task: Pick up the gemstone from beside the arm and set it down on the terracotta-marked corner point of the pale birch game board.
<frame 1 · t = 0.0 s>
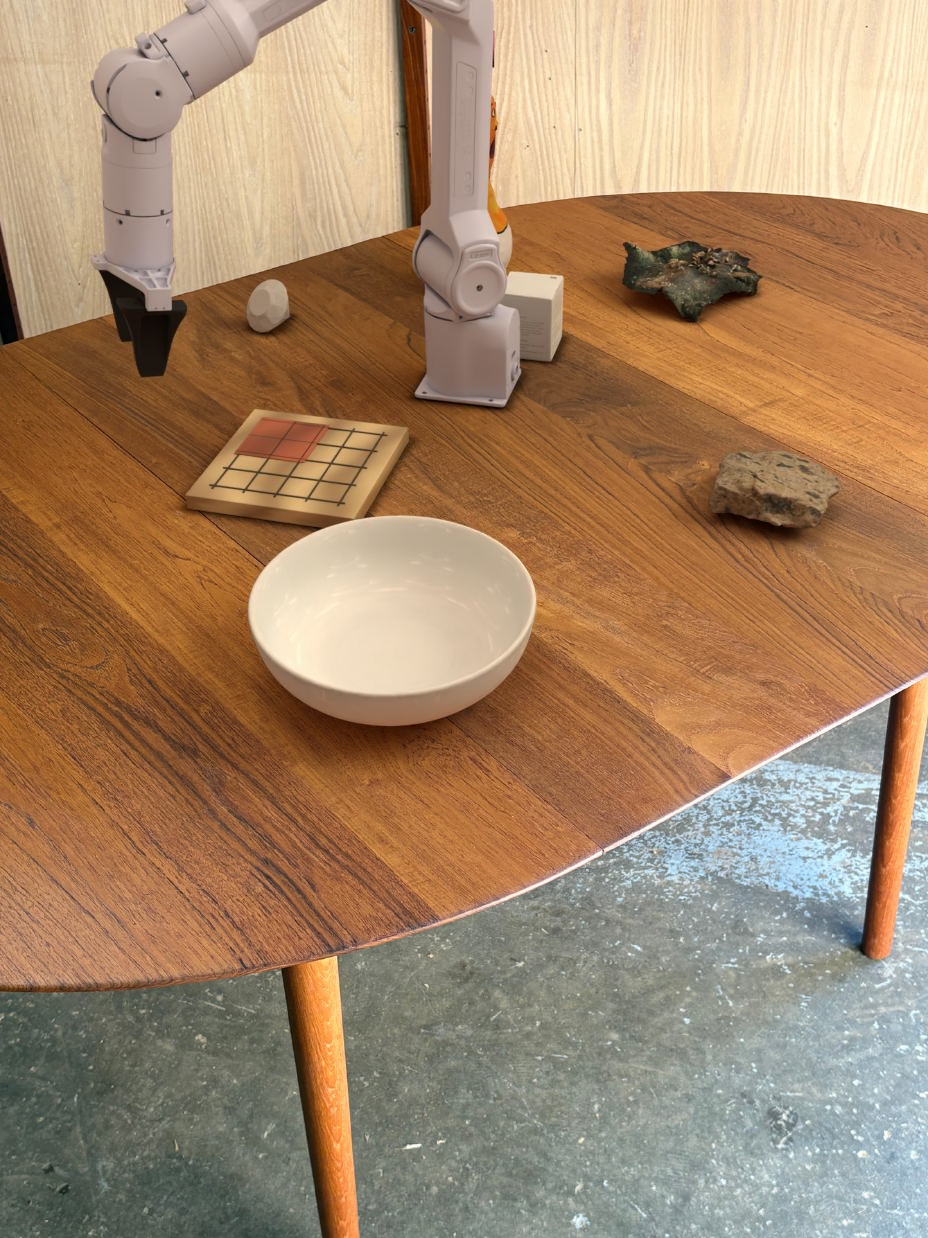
hand: (141, 357, 110), 11 cm above the table, tool pointing down, fingers open, 7 cm apart
decorative rock: (690, 286, 145), on the table
serving bowl: (397, 668, 93), on the table
rock: (774, 506, 109), on the table
board: (302, 473, 114), on the table
product box: (530, 348, 133), on the table
gemstone: (271, 325, 139), on the table
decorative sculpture: (478, 281, 147), on the table
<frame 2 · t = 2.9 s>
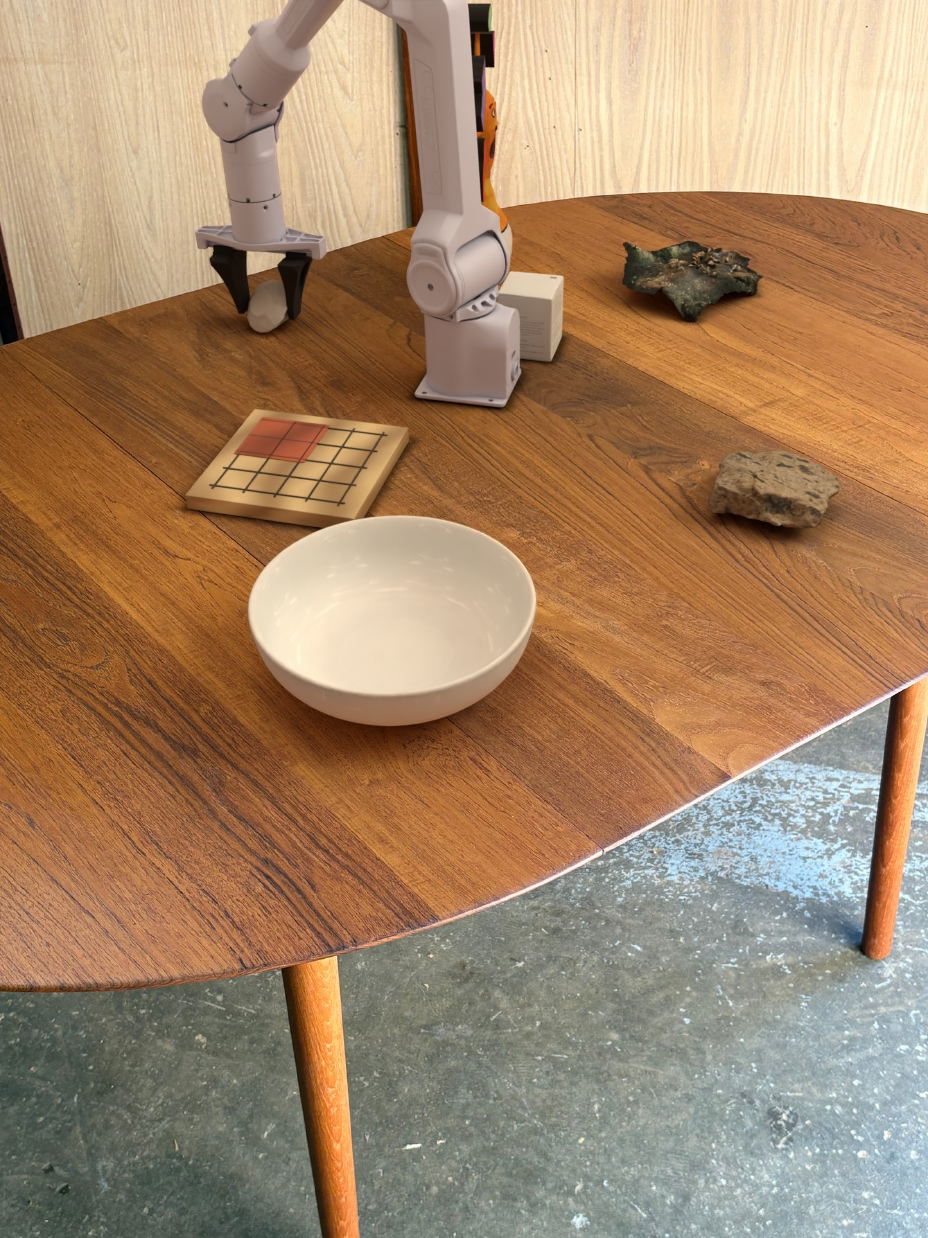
hand: (269, 312, 138), 1 cm above the table, tool pointing down, fingers closed on gemstone, 5 cm apart
gemstone: (272, 326, 139), on the table, touching gripper
everything else where it was.
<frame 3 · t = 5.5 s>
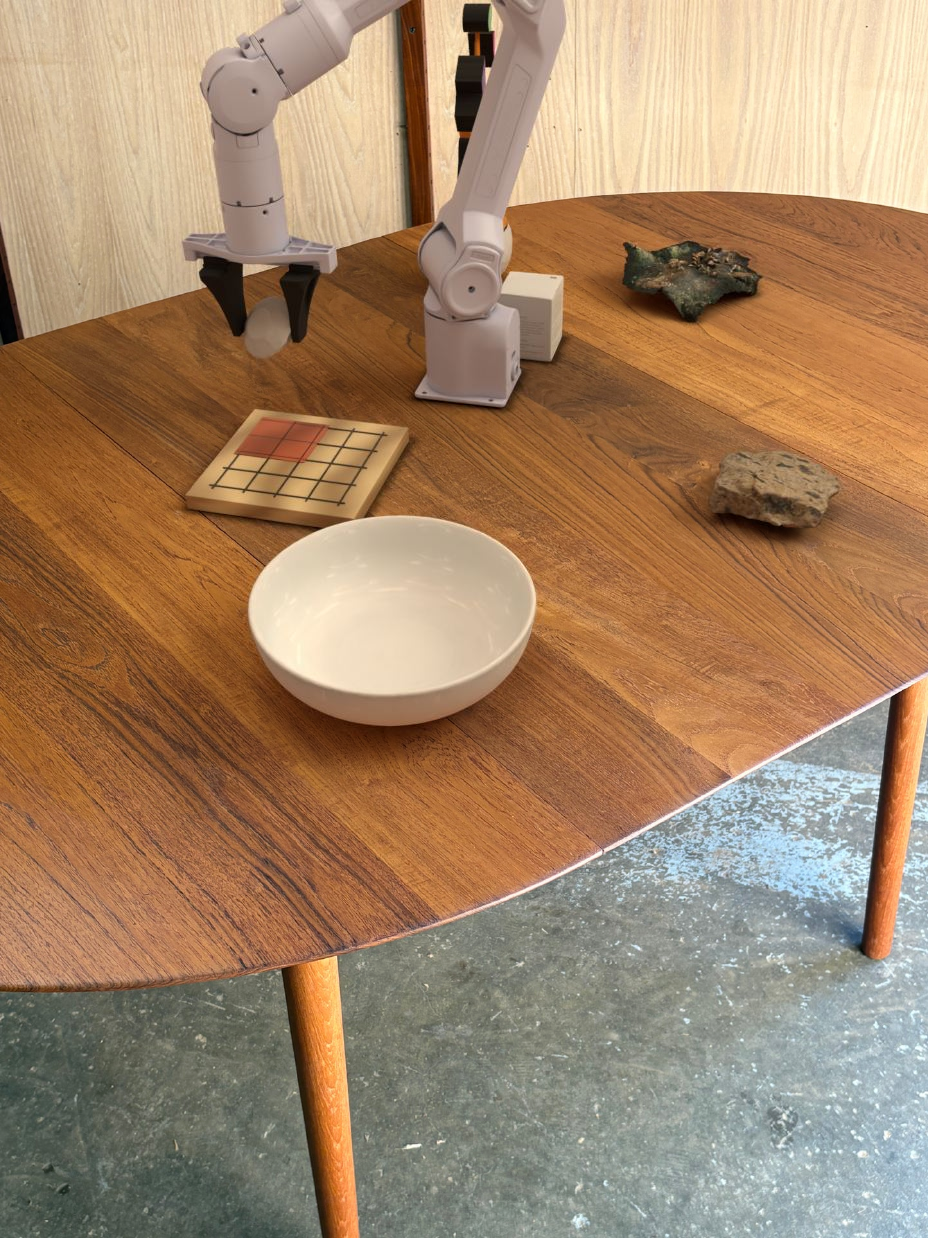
hand: (270, 335, 118), 8 cm above the table, tool pointing down, fingers closed on gemstone, 5 cm apart
gemstone: (272, 350, 119), point 7 cm above the table, touching gripper
everything else where it was.
when the fingers open (3 cm above the table, at t = 8.0 s): gemstone stays where it is, resting on board.
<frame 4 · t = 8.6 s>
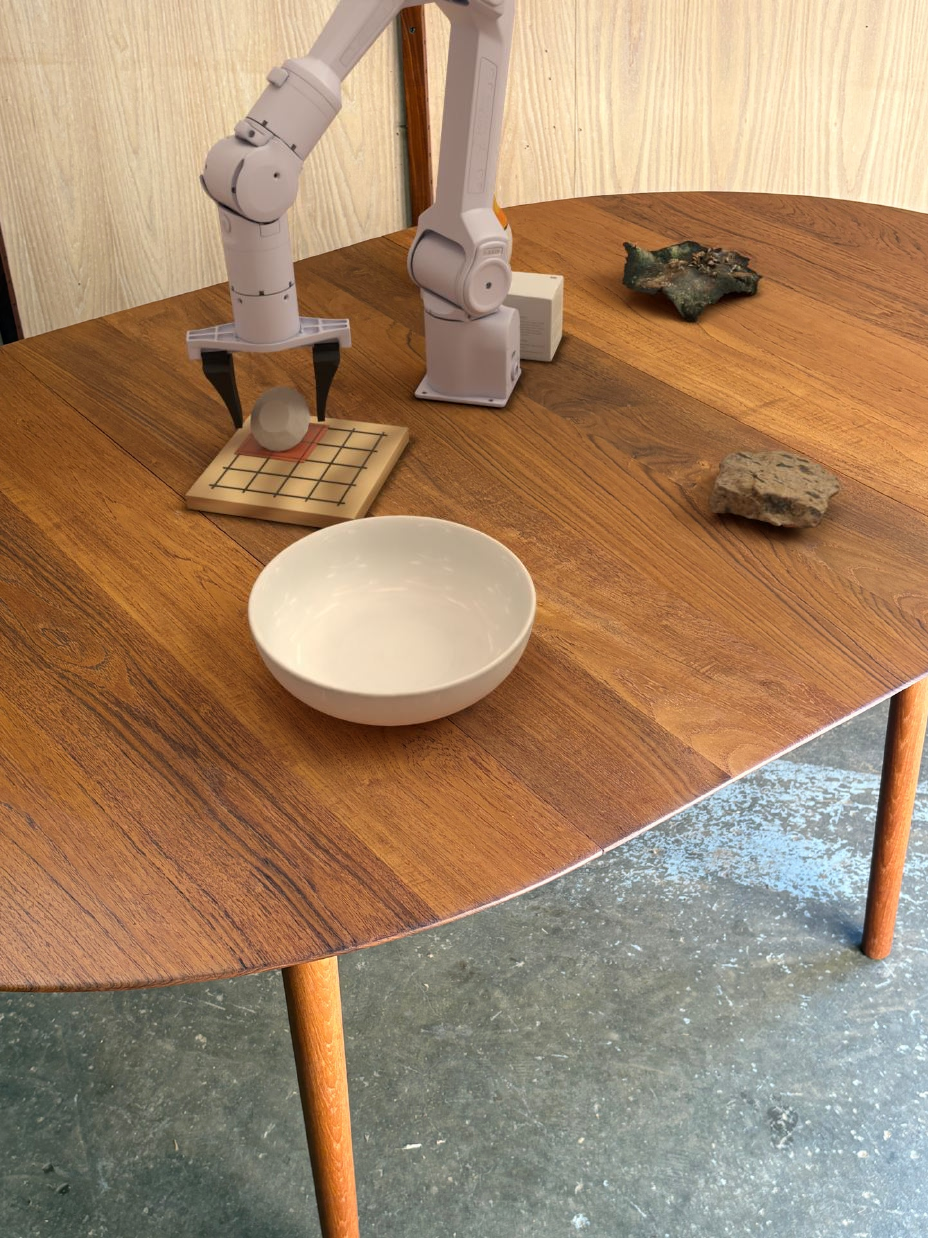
hand: (280, 419, 115), 4 cm above the table, tool pointing down, fingers open, 7 cm apart
gemstone: (283, 440, 116), point 1 cm above the table, touching board
everything else where it was.
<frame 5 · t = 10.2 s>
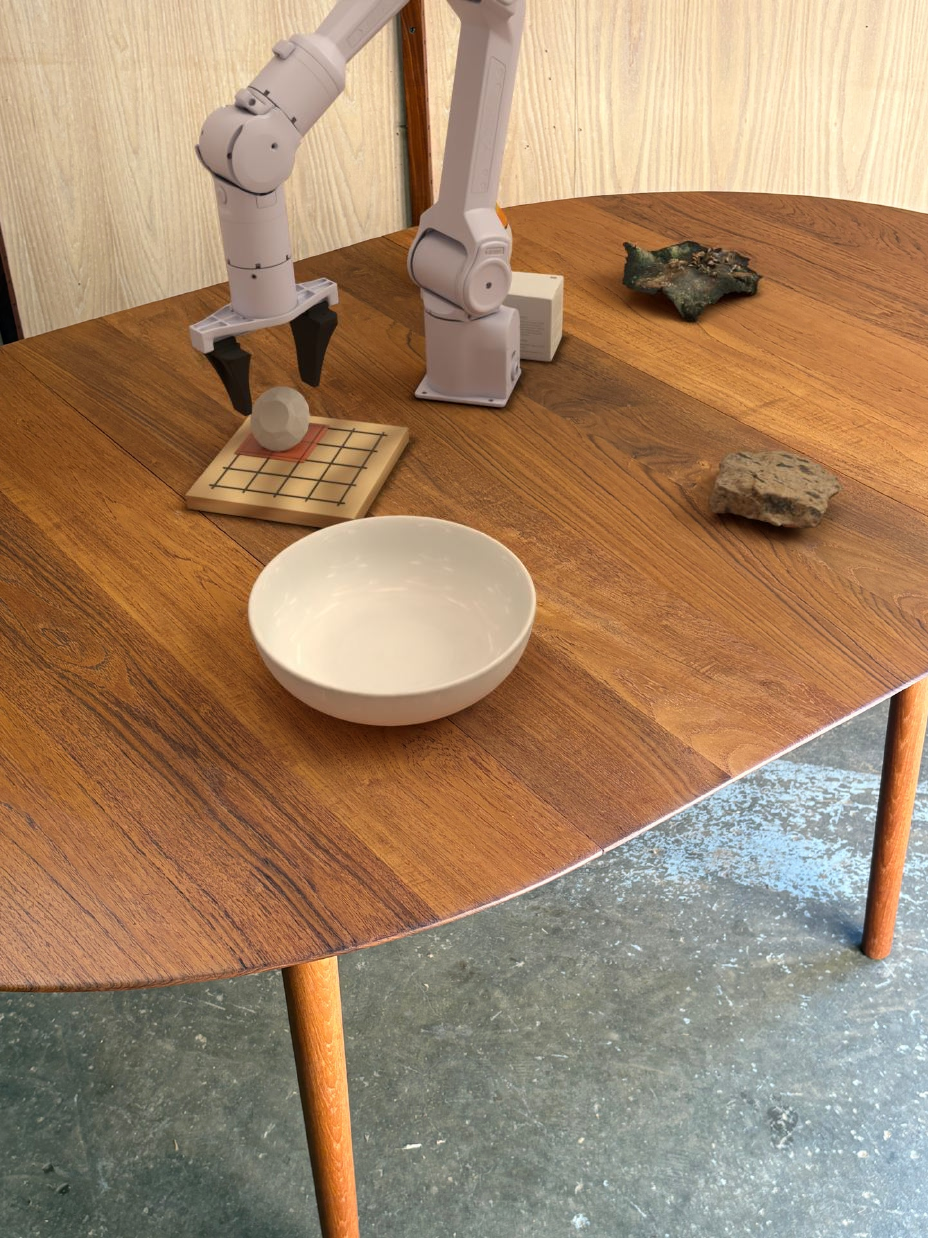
hand: (277, 397, 113), 6 cm above the table, tool pointing down, fingers open, 7 cm apart
nothing on the table moved.
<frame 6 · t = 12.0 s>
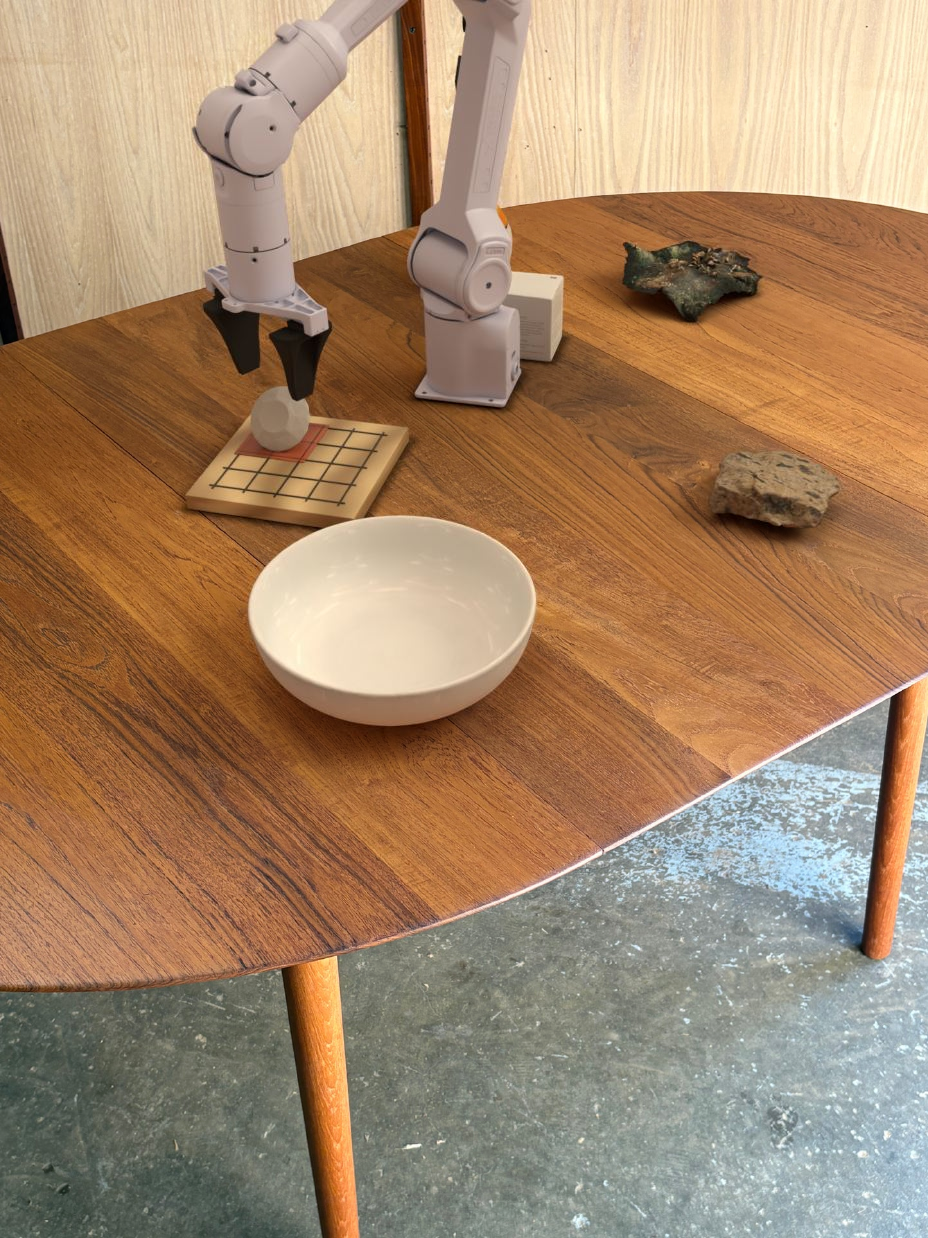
hand: (275, 383, 112), 7 cm above the table, tool pointing down, fingers open, 7 cm apart
nothing on the table moved.
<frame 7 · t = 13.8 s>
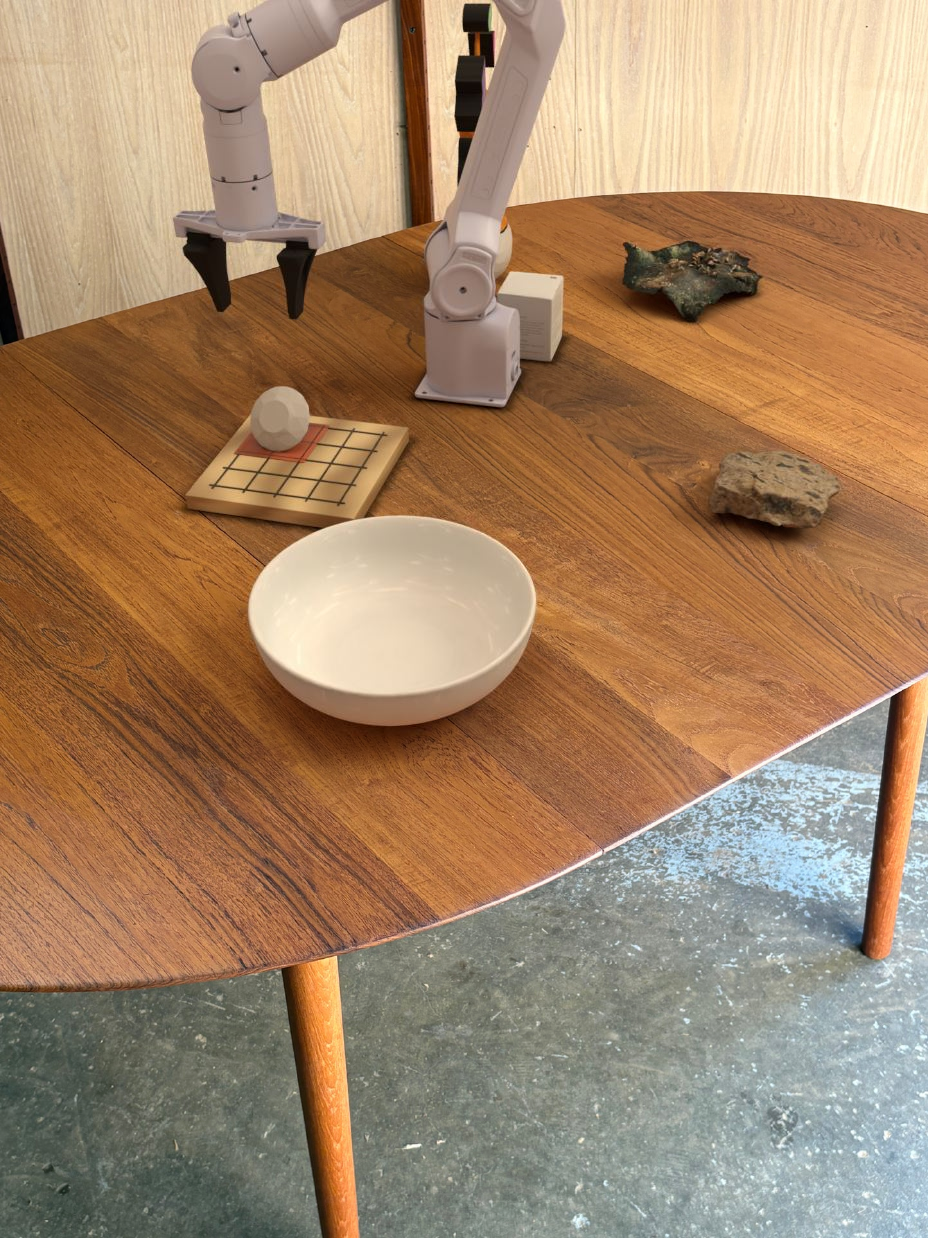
hand: (260, 311, 120), 9 cm above the table, tool pointing down, fingers open, 7 cm apart
nothing on the table moved.
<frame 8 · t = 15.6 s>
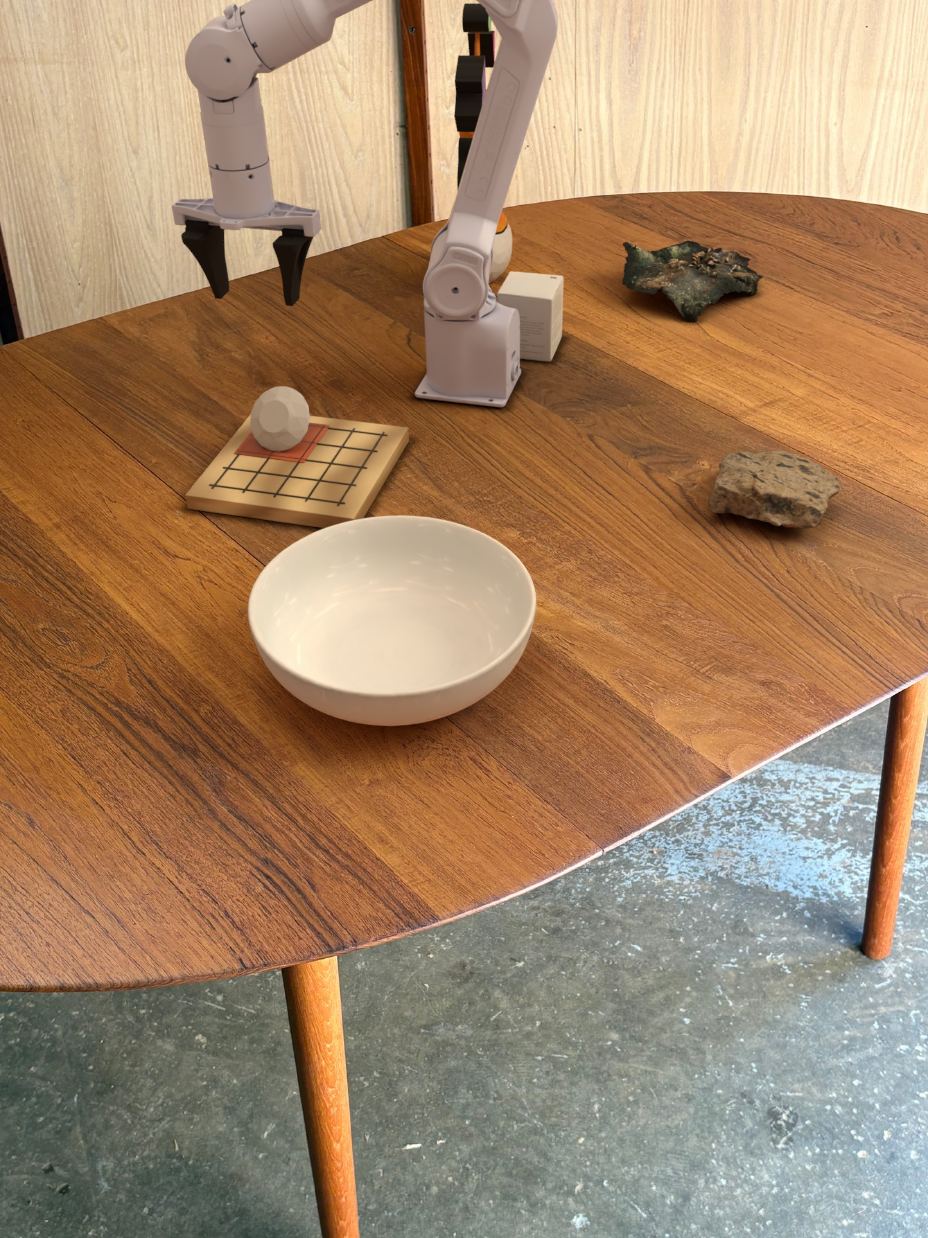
hand: (257, 298, 122), 9 cm above the table, tool pointing down, fingers open, 7 cm apart
nothing on the table moved.
at the end: gemstone 0.1 cm from the target spot on the board, point 1.4 cm above the board's base; the gripper is holding nothing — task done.
